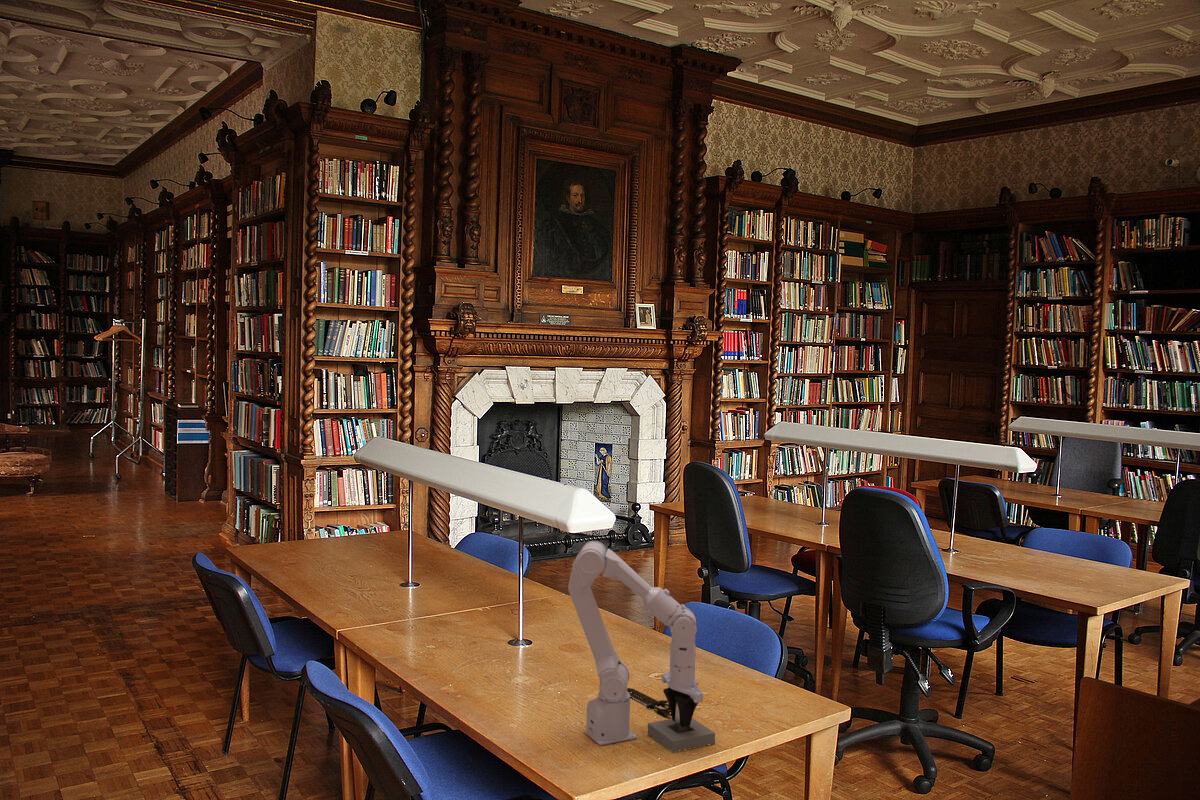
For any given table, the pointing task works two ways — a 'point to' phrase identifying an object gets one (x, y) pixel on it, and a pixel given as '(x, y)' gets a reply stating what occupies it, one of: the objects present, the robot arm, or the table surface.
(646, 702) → the knife
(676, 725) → the steel pin
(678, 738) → the socket block
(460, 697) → the table surface
